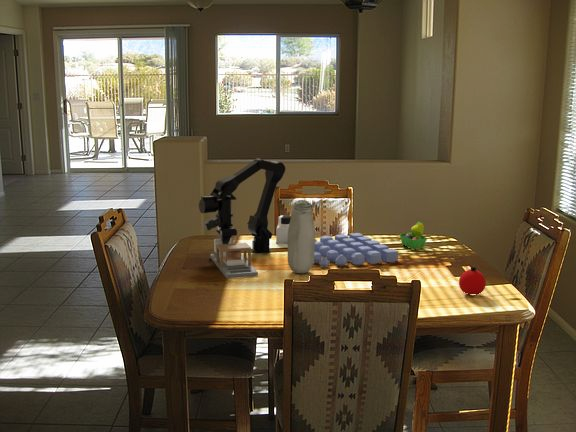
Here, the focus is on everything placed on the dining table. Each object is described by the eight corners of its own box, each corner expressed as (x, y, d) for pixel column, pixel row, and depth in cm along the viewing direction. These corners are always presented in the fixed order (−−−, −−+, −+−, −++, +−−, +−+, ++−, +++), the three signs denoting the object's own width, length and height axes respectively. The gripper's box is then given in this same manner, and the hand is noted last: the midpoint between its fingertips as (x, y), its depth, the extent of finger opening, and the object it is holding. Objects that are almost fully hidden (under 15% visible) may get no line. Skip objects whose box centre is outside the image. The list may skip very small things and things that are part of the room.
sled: (230, 249, 279) (230, 238, 278) (244, 264, 257) (244, 252, 256) (214, 250, 277) (214, 239, 276) (227, 266, 255) (227, 253, 254)
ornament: (464, 289, 236) (466, 262, 234) (489, 294, 230) (491, 266, 228) (453, 295, 229) (455, 267, 227) (478, 301, 223) (480, 272, 221)
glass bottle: (311, 277, 248) (313, 203, 242) (285, 275, 250) (285, 202, 244) (315, 269, 258) (317, 198, 252) (290, 267, 260) (291, 197, 254)
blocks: (398, 263, 270) (398, 251, 269) (321, 270, 258) (321, 258, 257) (358, 243, 302) (358, 232, 301) (288, 249, 290) (288, 238, 289)
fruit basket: (398, 245, 297) (399, 220, 295) (414, 243, 301) (415, 219, 298) (413, 251, 287) (414, 226, 285) (429, 249, 291) (431, 224, 288)
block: (238, 258, 262) (238, 248, 261) (241, 261, 258) (241, 251, 257) (225, 259, 261) (225, 249, 260) (228, 262, 256) (228, 252, 255)
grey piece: (238, 255, 276) (238, 235, 275) (257, 275, 249) (257, 254, 247) (210, 257, 273) (210, 237, 271) (226, 278, 245) (226, 256, 243)
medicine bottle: (293, 240, 304) (293, 214, 302) (291, 243, 297) (292, 217, 295) (277, 239, 305) (278, 214, 303) (276, 243, 298) (276, 217, 296)
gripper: (200, 207, 277) (201, 243, 280) (209, 216, 259) (210, 255, 262) (226, 206, 280) (227, 242, 283) (237, 215, 263) (237, 253, 266)
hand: (224, 248), depth 273 cm, fingers closed
